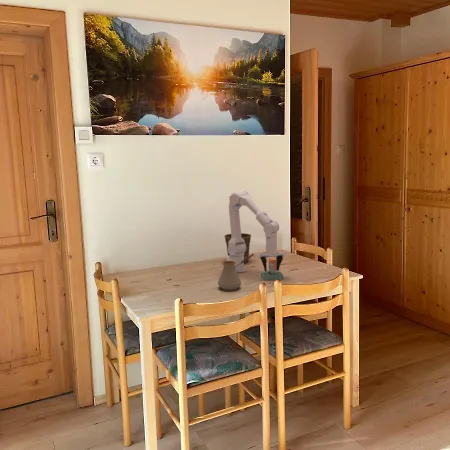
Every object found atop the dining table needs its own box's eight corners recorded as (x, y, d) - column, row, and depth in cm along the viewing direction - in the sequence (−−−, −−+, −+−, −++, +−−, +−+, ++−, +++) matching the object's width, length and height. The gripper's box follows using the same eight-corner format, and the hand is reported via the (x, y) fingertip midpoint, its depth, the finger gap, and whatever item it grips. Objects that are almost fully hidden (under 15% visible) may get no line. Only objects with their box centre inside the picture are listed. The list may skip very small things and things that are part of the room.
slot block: (264, 280, 239) (264, 275, 238) (260, 276, 246) (260, 271, 246) (282, 279, 240) (282, 274, 240) (278, 275, 248) (278, 270, 247)
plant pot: (222, 259, 285) (222, 233, 283) (248, 257, 288) (247, 232, 285) (227, 265, 269) (226, 238, 267) (254, 264, 272) (254, 237, 269)
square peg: (270, 272, 253) (270, 260, 252) (268, 270, 257) (268, 258, 256) (277, 272, 254) (277, 259, 253) (275, 270, 258) (275, 257, 257)
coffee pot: (226, 293, 219) (225, 262, 217) (213, 287, 228) (212, 257, 226) (261, 285, 231) (261, 255, 228) (248, 279, 240) (247, 251, 238)
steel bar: (270, 279, 241) (270, 265, 240) (268, 276, 245) (268, 263, 244) (274, 278, 241) (274, 265, 240) (272, 276, 245) (272, 263, 244)
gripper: (259, 247, 235) (259, 273, 238) (287, 245, 237) (287, 271, 240) (256, 244, 242) (256, 269, 244) (283, 243, 244) (283, 268, 247)
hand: (271, 270), depth 242 cm, fingers open, 6 cm apart
